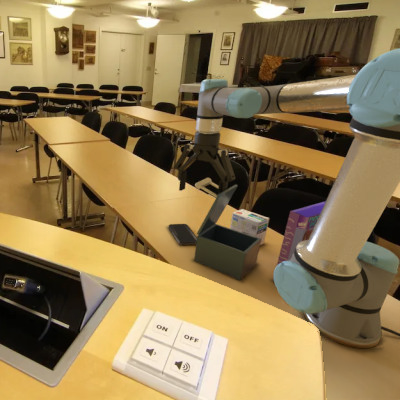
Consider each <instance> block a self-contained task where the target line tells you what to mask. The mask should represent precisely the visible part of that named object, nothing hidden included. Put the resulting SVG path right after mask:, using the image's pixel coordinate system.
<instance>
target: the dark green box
mask: <svg viewBox="0 0 400 400" xmlns="http://www.w3.org/2000/svg"><path fill="white" fill-rule="evenodd" d="M196 237H197V242H196V244H195V251H194V258H193V261H194V262H195V263H198V264H200V265H203V266H206V267H208V268H210V269H212V270H215V271H217V272H220V273H222V274H224V275H226V276H229V277H231V278H233V279H236V280H238V281H242V279H243V278H244V277H245V276H246V275H247V274H248V273H249V272H250V271H251V270H252V269H253V268H254V267H255V266H256V265H257V261H258V257H259V252H260V248H261V245H260V244H261V238H258V237H254V236H251V235H248V234H245V233H242V232H239V231H236V230H233V229H230V228H229V227H227V226H223V225H221V224H218V223H216V224H214V225H213V226H211V227H210V228H208V229H207V230H205V231H204V232H202V233H201V234H200V235H196Z"/></svg>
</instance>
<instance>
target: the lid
mask: <svg viewBox="0 0 400 400" xmlns="http://www.w3.org/2000/svg"><path fill="white" fill-rule="evenodd" d="M209 185H211V186H212V187H214V188H216V189H218V187H219V184H216V183H215V182H213V181H212V179H211V178H210V177H205V178H204V179H202V180H199V181H198V182H195V184H194V187H195V189H197V190H200V189H201V190H202V191H204V192H206V193H207V194H209V195H210V196H213V198H215V199H214V201H213V203H212V205H211V206H210V208H209V210H208V212H207V214H206V215H205V218H204V219H203V221H202V223H201V225H200V227H199V229H198V230H197V232H196V236H198V235H200V234H201V233H202V232H204V231H205V230H207V229H208V228H210V227H211V226H213V225H214V224H218V221H219V219H220V217H221V215H223V212H224V210H225V209H226V208H227V205H228V204H229V202H230V200H231V198H232V197H233V195H234V193H235V192H236V190H237V188H238V186H239V185H238V184H234V185H232V186H230V187H229V188H227V190H225V191H223V192H222V193H220V194H218V193H216V192H213V191H211V190H210V189H208V188H206V186H209ZM217 194H218V195H217Z"/></svg>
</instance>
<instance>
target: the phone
mask: <svg viewBox="0 0 400 400" xmlns="http://www.w3.org/2000/svg"><path fill="white" fill-rule="evenodd" d="M168 229H169V231H170V233H171V234H172V236H173V237H174V239H175V241H176V242H177V243H178V245H179V246H192V245H194V246H195V245H196V242H197V234H195V233H194V232H193V229H191V227H190V226H189V225H188V223H170V224H168Z"/></svg>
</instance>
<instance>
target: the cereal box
mask: <svg viewBox="0 0 400 400" xmlns="http://www.w3.org/2000/svg"><path fill="white" fill-rule="evenodd" d="M325 202H326V200H325V201H322V202H319V203H315V204H311V205H308V206H307V205H306V206H304V207H301V208H298V209H297V208H296V209H293V210H290V211H289V215H288V218H287V222H286V226H285V232H284V235H283V239H282V243H281V247H280V250H279V254H278V259H277V263H276V266H277V265H278V264H280V263H282V262H283V261H289V260H290V259H291V258H292V255H293V253H294V251H295V249H296V246H297V245H298V243H300V242H301V241H305V240H309V238H310V235H311V233H312V231H313V229H314V227H315V224H316V222H317V220H318V218H319V216H320V213H321V211H322V209H323V207H324V204H325ZM272 282H274V278H273V279H272Z"/></svg>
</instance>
